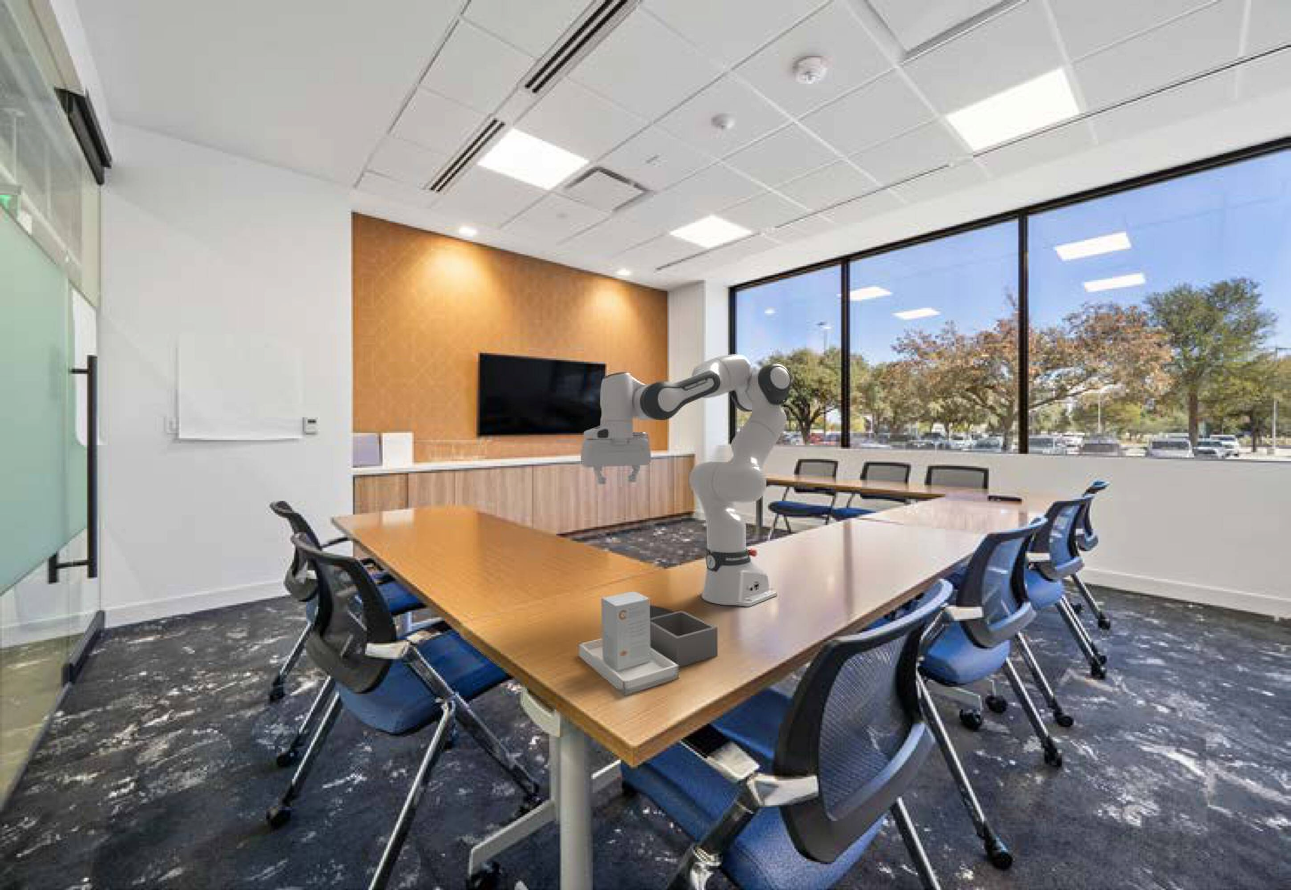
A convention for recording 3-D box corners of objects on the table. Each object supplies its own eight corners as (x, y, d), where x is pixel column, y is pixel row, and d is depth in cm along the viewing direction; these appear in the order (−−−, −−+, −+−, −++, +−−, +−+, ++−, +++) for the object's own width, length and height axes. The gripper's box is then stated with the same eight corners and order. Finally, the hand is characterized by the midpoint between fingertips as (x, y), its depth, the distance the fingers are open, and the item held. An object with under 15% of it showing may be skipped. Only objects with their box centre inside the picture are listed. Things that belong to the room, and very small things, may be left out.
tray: (627, 643, 116) (627, 632, 115) (678, 678, 99) (678, 665, 98) (578, 655, 109) (578, 644, 109) (624, 695, 92) (624, 682, 92)
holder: (682, 636, 119) (682, 610, 119) (717, 655, 108) (717, 627, 108) (644, 646, 114) (643, 619, 113) (677, 668, 103) (676, 638, 103)
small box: (635, 651, 109) (634, 590, 109) (651, 662, 103) (650, 598, 103) (601, 660, 104) (600, 597, 104) (616, 672, 99) (615, 605, 99)
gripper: (643, 432, 147) (643, 480, 147) (577, 432, 136) (578, 484, 136) (655, 431, 141) (655, 481, 142) (588, 432, 130) (588, 486, 131)
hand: (617, 482), depth 139 cm, fingers open, 8 cm apart
